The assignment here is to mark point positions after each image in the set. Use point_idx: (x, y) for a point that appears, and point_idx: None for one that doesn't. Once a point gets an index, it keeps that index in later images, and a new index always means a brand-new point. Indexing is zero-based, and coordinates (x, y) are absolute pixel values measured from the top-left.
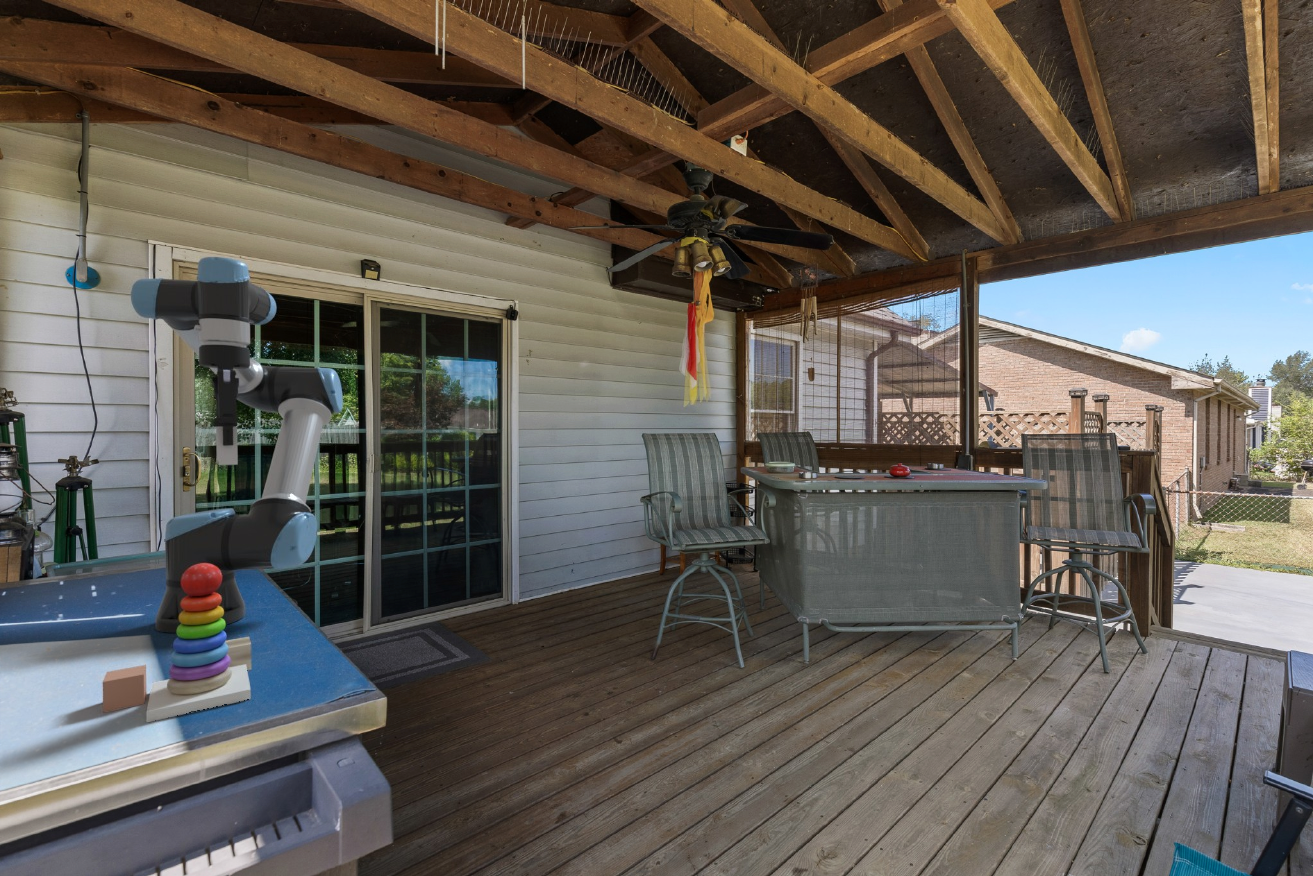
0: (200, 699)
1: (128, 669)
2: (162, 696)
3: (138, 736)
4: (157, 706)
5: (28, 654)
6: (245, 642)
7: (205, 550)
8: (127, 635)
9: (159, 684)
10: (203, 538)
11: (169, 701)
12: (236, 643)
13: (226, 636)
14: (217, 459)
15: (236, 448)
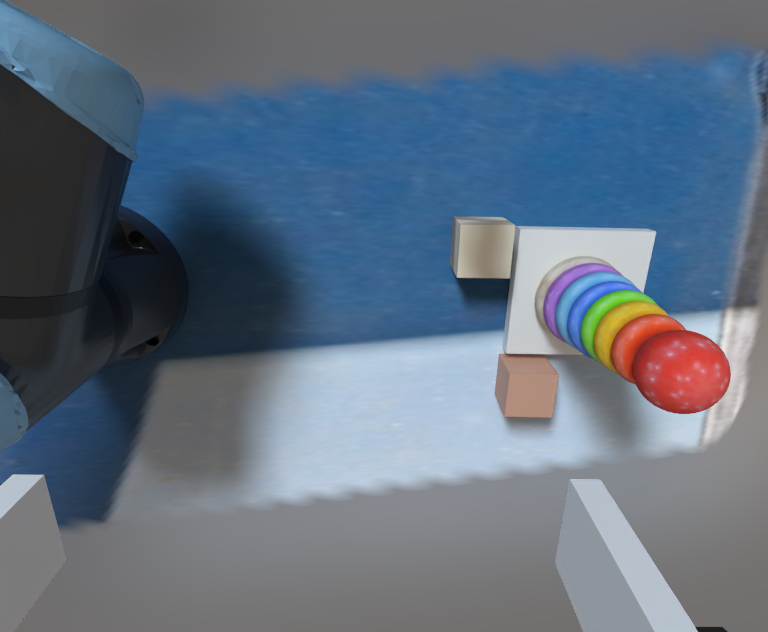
0: None
1: (516, 393)
2: None
3: None
4: None
5: (185, 497)
6: (498, 233)
7: (76, 341)
8: (146, 391)
9: (523, 345)
10: (44, 362)
11: None
12: (491, 248)
13: (622, 282)
14: (59, 565)
15: (658, 580)
